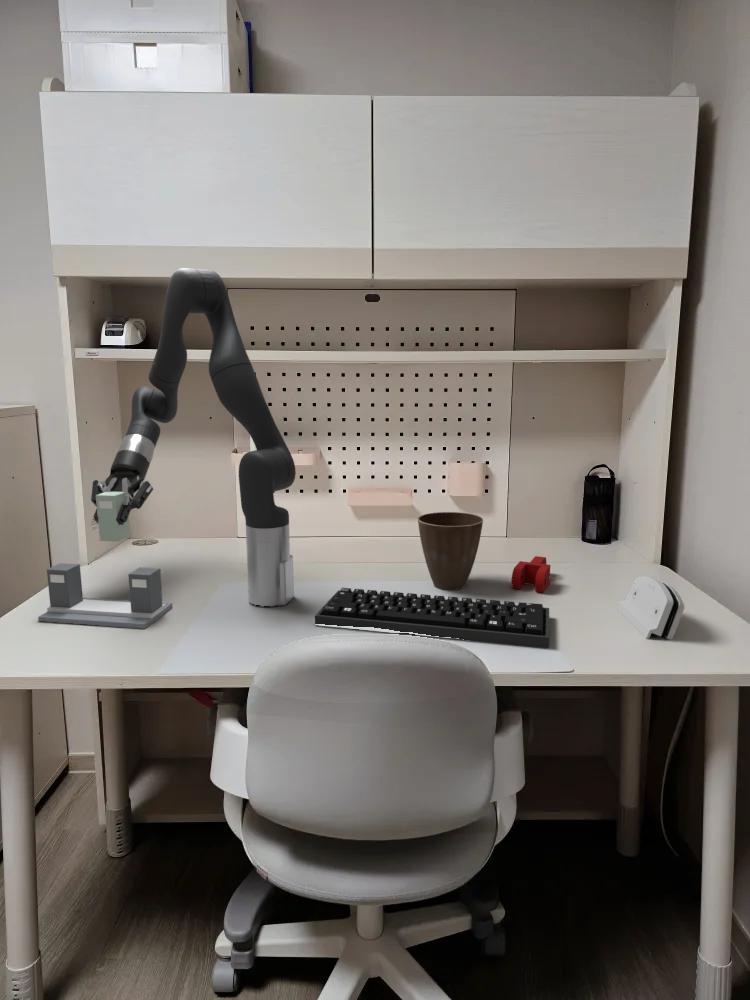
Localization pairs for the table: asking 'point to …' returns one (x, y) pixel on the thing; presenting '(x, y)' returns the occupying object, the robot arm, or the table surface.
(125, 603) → the rail board
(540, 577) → the mechanical linkage
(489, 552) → the table surface
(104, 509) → the block
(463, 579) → the plant pot
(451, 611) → the computer keyboard
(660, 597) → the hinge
